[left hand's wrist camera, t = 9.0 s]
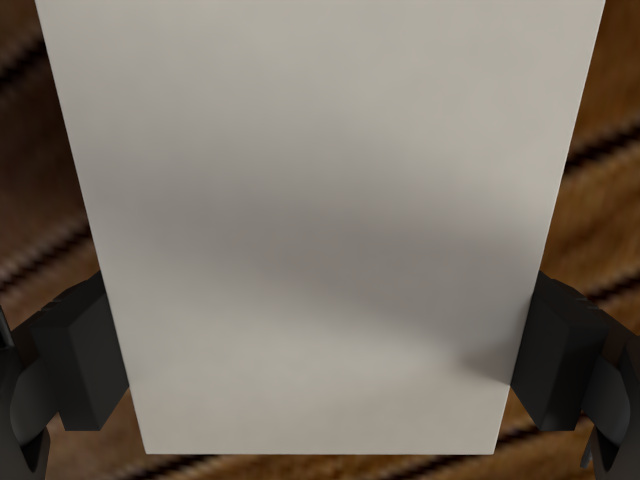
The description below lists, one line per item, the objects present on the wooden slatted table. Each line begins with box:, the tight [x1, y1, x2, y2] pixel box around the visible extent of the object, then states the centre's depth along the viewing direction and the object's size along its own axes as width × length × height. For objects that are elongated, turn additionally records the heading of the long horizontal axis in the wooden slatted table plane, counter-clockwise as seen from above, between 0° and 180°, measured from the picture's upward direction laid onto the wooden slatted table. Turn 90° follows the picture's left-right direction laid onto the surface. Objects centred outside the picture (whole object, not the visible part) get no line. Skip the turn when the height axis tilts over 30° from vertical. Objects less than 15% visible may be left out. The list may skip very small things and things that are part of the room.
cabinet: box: [35, 0, 605, 454], centre depth 12 cm, size 18×10×11 cm, turn 0°
